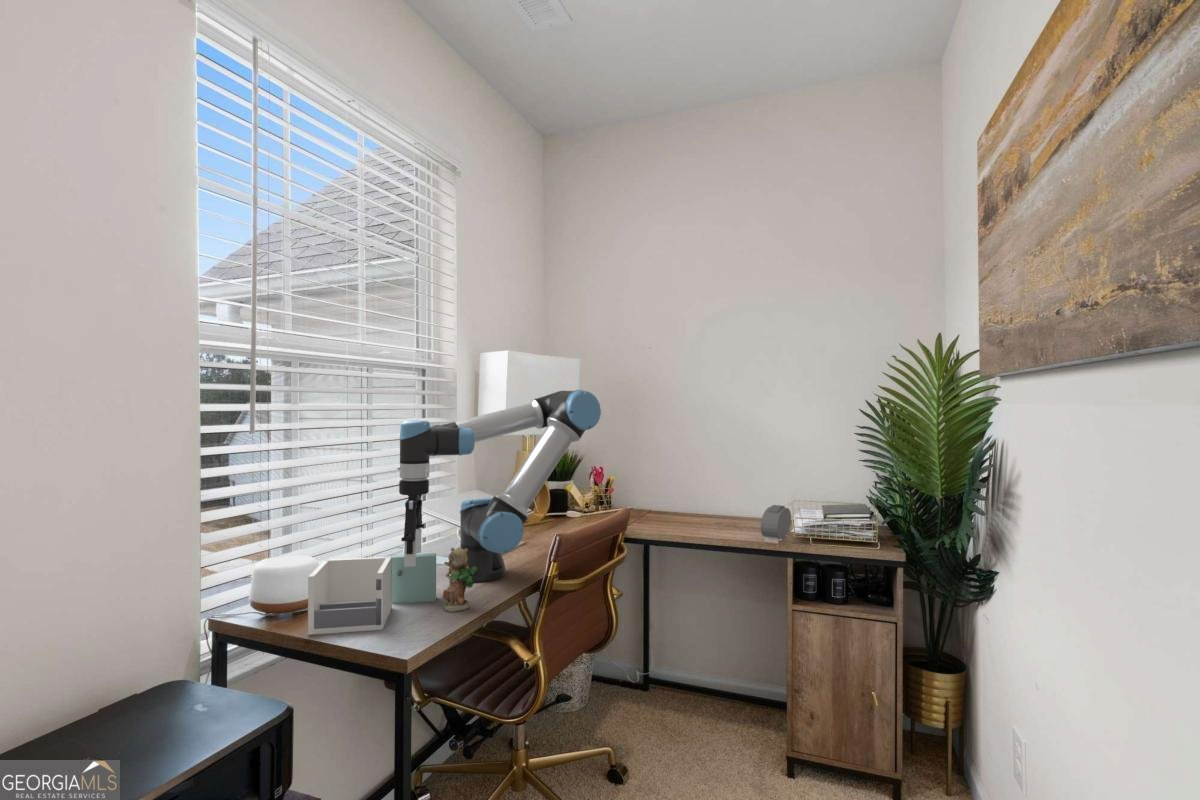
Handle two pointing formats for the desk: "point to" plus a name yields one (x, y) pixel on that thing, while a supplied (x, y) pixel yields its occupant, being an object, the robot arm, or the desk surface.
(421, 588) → the door
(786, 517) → the alarm clock
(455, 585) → the figurine
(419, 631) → the desk surface
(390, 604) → the cabinet
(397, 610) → the desk surface
